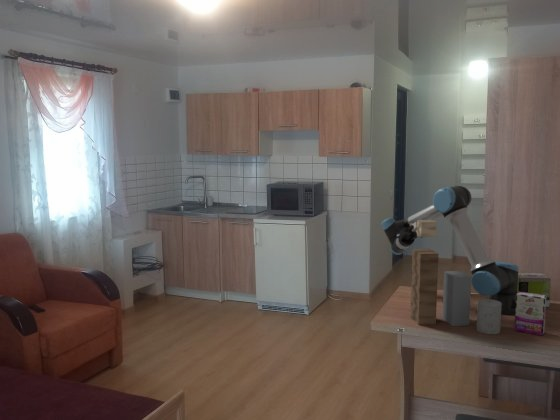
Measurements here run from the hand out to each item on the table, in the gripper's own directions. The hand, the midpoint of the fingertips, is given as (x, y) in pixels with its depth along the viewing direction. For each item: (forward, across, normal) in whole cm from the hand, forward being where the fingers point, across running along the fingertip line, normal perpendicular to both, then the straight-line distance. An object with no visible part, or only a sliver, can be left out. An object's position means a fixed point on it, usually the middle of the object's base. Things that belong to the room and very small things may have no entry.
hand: (420, 224), depth 243 cm
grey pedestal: (-5, -10, -45) cm, 47 cm away
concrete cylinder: (+5, -20, -51) cm, 55 cm away
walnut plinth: (-7, +3, -44) cm, 45 cm away
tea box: (-22, -57, -36) cm, 71 cm away
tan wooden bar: (-2, 0, -4) cm, 4 cm away
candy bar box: (+8, -36, -53) cm, 65 cm away
